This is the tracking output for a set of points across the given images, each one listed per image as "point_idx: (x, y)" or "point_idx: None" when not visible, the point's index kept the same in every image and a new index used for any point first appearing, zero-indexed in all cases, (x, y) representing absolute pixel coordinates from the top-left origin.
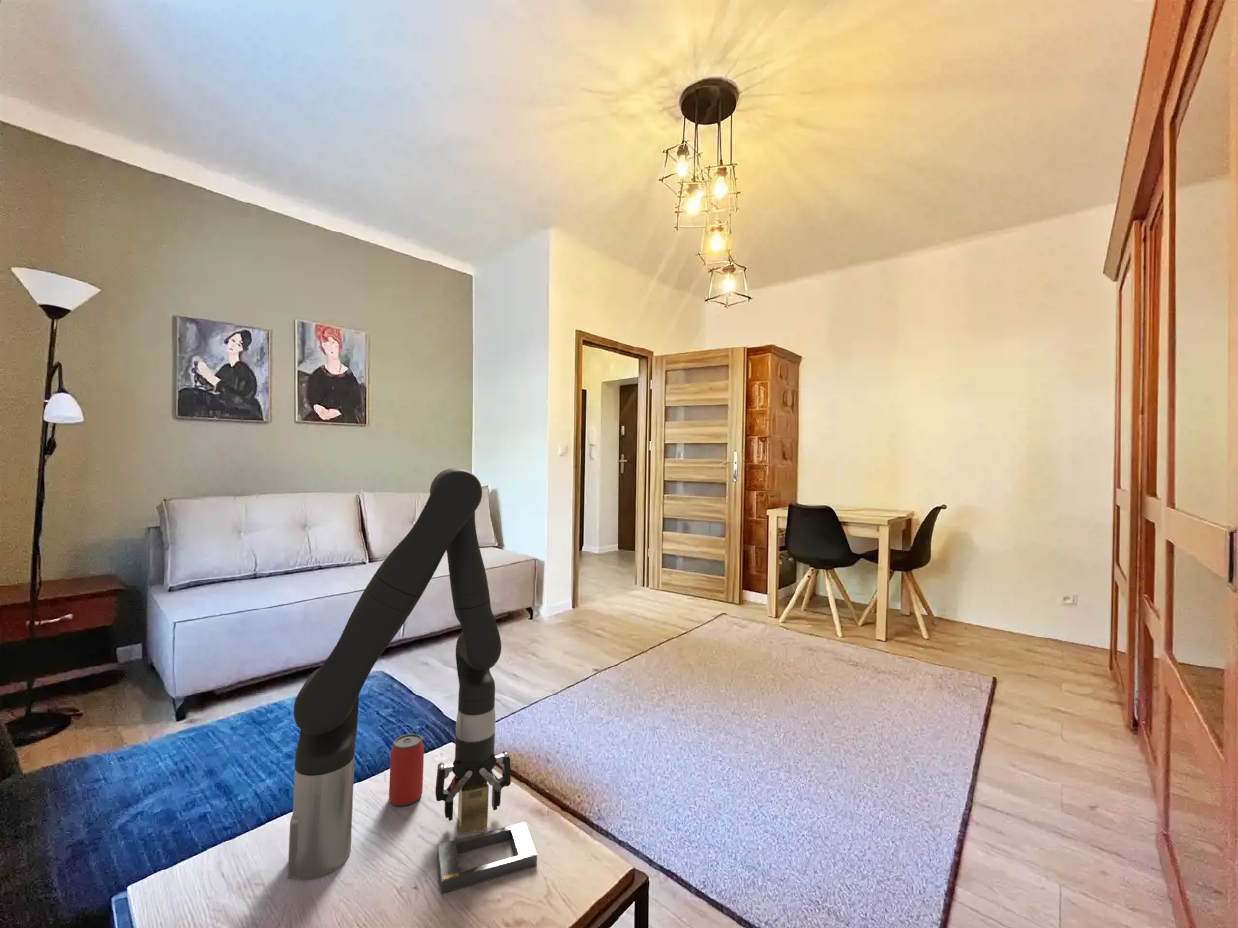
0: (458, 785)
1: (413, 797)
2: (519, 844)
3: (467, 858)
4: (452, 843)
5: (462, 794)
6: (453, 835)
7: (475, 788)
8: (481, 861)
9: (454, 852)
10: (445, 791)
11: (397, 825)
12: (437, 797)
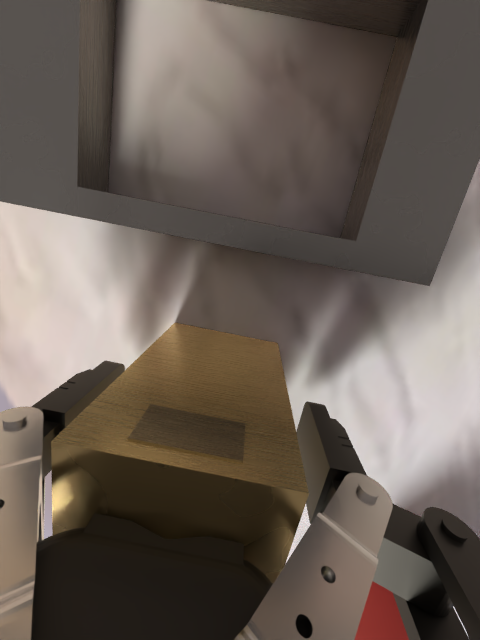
0: (344, 588)
1: (372, 588)
2: (60, 27)
3: (304, 188)
4: (369, 249)
5: (301, 471)
6: (303, 351)
7: (178, 475)
8: (259, 132)
9: (388, 175)
10: (386, 568)
11: (448, 499)
12: (473, 542)
